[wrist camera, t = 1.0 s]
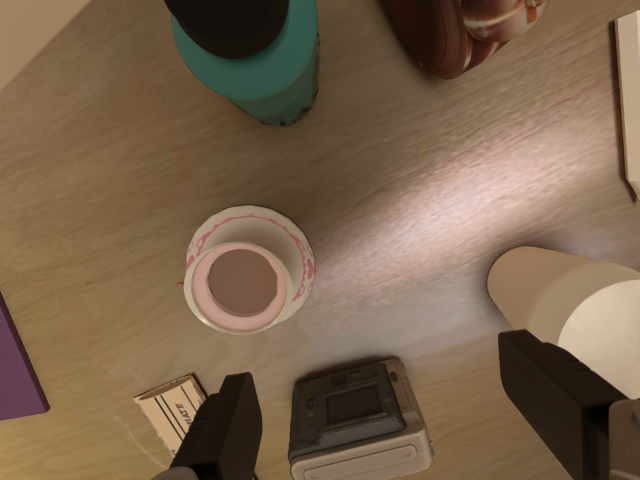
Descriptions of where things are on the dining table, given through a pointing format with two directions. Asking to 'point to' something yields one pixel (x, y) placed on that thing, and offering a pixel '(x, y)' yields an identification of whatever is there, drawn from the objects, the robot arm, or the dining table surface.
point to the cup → (574, 308)
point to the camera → (358, 426)
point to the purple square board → (17, 374)
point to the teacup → (247, 270)
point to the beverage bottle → (252, 52)
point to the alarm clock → (461, 29)
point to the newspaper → (172, 410)
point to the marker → (630, 92)
